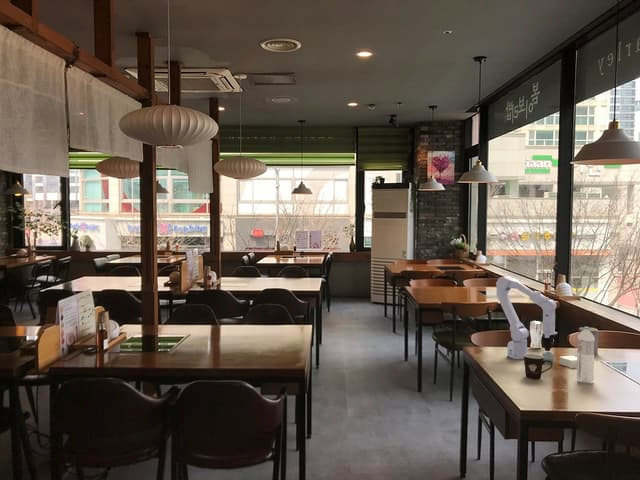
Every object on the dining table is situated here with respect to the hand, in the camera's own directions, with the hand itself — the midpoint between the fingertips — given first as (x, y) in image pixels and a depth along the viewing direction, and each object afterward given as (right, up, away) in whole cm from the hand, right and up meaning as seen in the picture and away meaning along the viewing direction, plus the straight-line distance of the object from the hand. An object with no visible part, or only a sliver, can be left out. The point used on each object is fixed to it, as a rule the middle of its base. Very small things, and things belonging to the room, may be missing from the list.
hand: (548, 349), depth 268 cm
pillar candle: (+32, -7, +21) cm, 39 cm away
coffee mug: (-18, -8, -29) cm, 35 cm away
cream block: (+10, -7, -5) cm, 13 cm away
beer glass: (+8, -6, +34) cm, 35 cm away
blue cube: (0, -7, 0) cm, 7 cm away
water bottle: (+2, -8, -34) cm, 35 cm away
